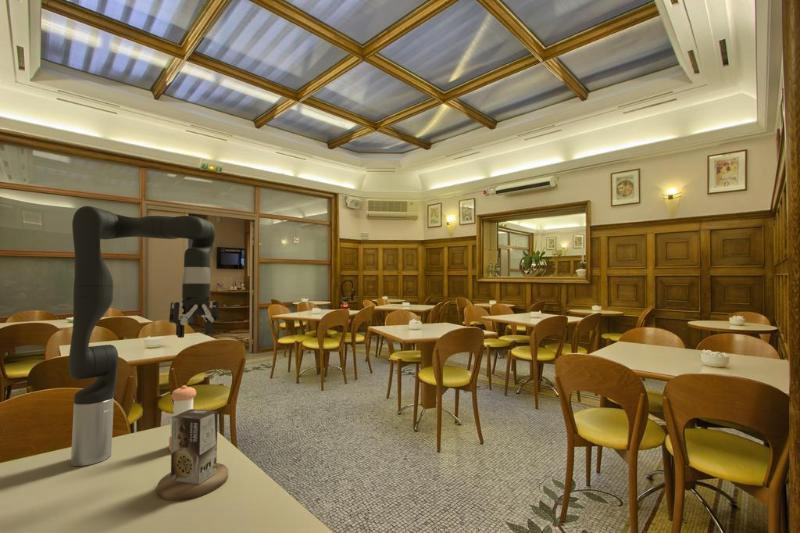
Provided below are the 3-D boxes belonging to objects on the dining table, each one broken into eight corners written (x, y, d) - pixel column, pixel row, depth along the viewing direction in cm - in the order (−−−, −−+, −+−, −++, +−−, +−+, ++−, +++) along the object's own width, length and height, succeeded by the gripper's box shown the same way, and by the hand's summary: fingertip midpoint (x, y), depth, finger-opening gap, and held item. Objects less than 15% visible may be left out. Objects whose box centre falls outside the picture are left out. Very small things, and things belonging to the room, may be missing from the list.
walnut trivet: (143, 489, 92) (143, 483, 92) (203, 463, 106) (203, 457, 106) (181, 507, 85) (182, 500, 85) (241, 476, 99) (241, 470, 99)
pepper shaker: (175, 442, 121) (177, 383, 122) (199, 441, 122) (200, 382, 123) (164, 452, 114) (166, 389, 115) (189, 450, 115) (190, 388, 116)
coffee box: (217, 473, 97) (219, 410, 99) (198, 485, 91) (200, 418, 92) (189, 468, 100) (191, 408, 101) (168, 480, 94) (171, 415, 95)
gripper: (180, 281, 104) (178, 339, 103) (225, 282, 117) (224, 334, 116) (165, 282, 108) (163, 338, 107) (210, 283, 120) (208, 332, 119)
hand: (194, 336), depth 111 cm, fingers open, 8 cm apart
